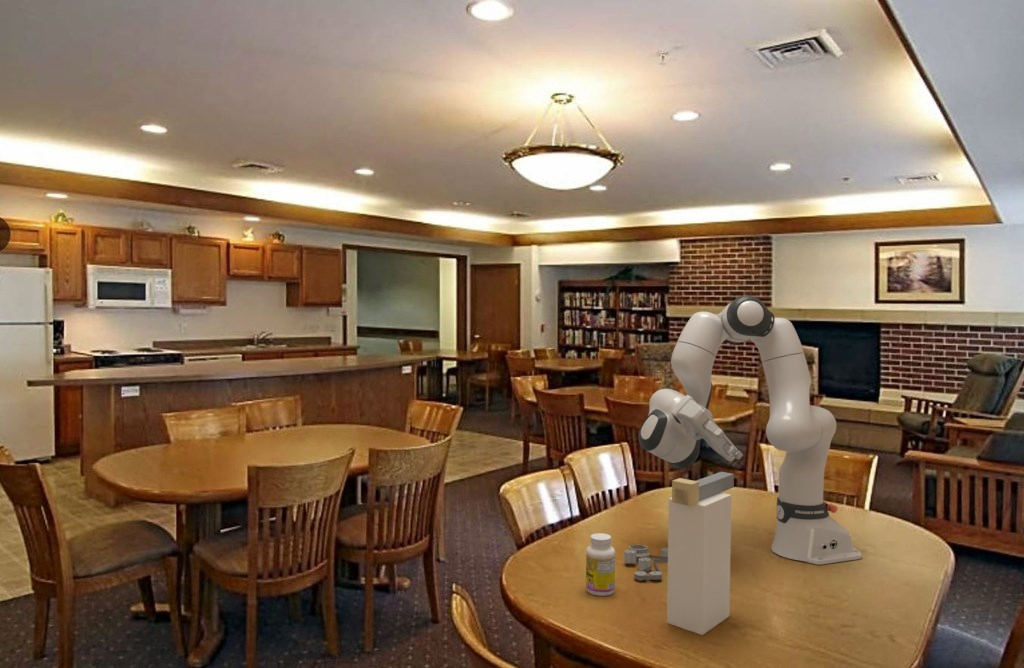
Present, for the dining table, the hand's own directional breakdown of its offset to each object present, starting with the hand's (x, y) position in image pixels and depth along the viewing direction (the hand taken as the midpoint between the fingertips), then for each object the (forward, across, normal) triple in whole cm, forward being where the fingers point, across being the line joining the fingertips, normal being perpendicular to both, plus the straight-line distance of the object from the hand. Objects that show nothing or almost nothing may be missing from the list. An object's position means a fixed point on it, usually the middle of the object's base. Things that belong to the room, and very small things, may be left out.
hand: (730, 445), depth 171 cm
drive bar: (+16, +14, -15) cm, 26 cm away
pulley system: (-6, -15, -34) cm, 38 cm away
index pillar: (+24, -1, -35) cm, 42 cm away
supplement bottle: (+4, +4, -46) cm, 47 cm away
